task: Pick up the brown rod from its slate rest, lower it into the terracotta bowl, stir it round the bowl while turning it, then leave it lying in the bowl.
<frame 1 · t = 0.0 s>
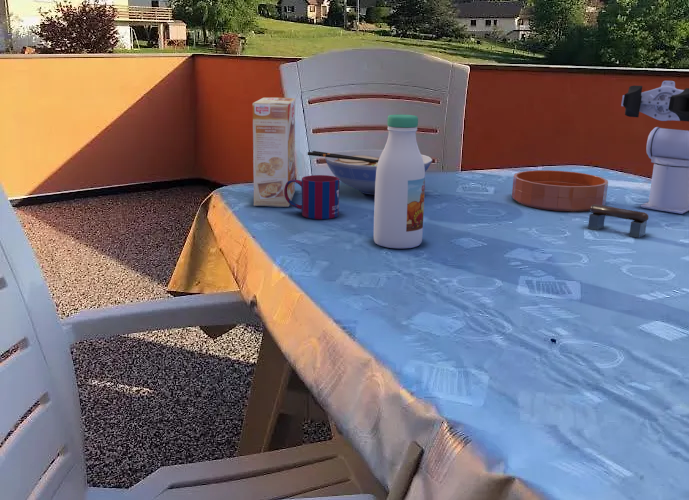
hand: (648, 101, 121), 22 cm above the table, tool horizontal, fingers open, 7 cm apart
stick rest: (616, 231, 122), on the table
milk bottle: (397, 244, 112), on the table
bowl: (557, 202, 144), on the table
coffeecake box: (275, 199, 142), on the table
brown rod: (617, 217, 121), point 2 cm above the table, touching stick rest
ramen bowl: (376, 192, 151), on the table
mug: (311, 215, 130), on the table
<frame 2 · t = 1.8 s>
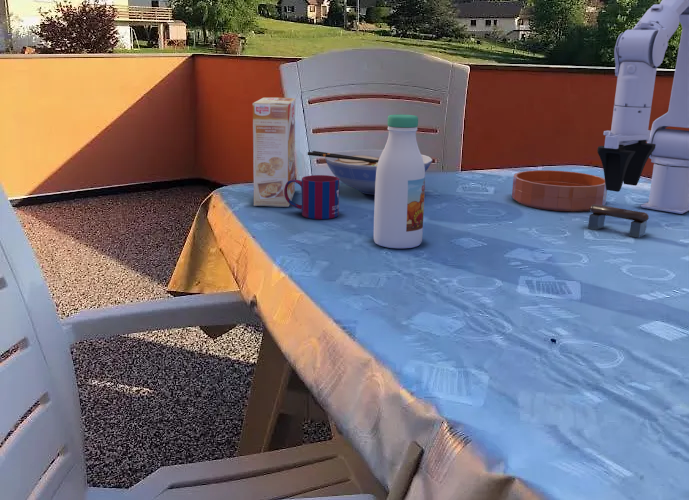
hand: (621, 187, 120), 8 cm above the table, tool pointing down, fingers open, 7 cm apart
nothing on the table moved.
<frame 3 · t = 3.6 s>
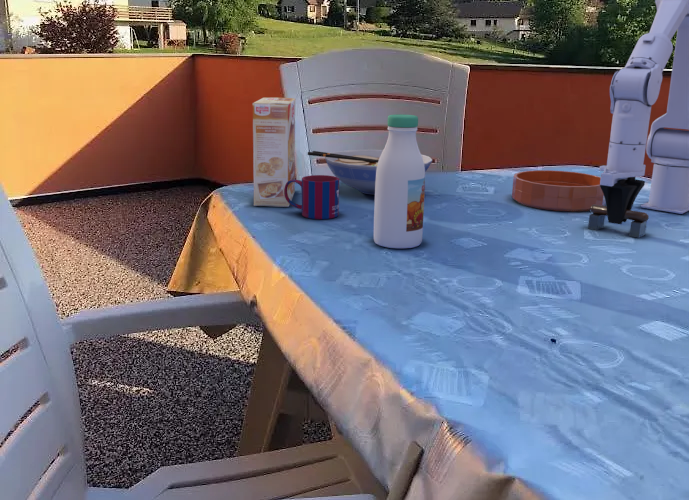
hand: (617, 222, 122), 2 cm above the table, tool pointing down, fingers closed on brown rod, 1 cm apart
brown rod: (617, 217, 121), point 2 cm above the table, touching gripper, stick rest
everything else where it was.
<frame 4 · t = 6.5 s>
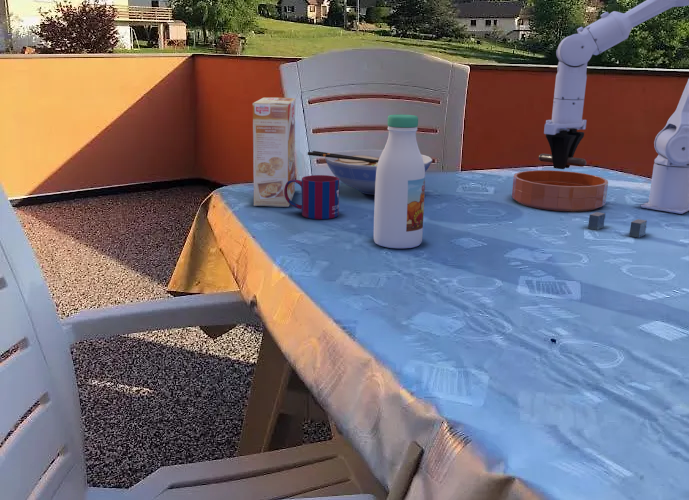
hand: (561, 168, 142), 7 cm above the table, tool pointing down, fingers closed on brown rod
brown rod: (561, 164, 142), point 8 cm above the table, touching gripper
everything else where it was.
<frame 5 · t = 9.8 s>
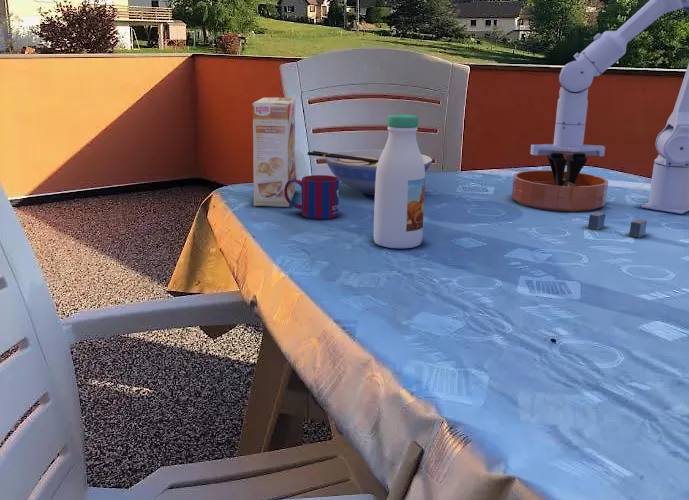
hand: (563, 190, 145), 2 cm above the table, tool pointing down, fingers closed on brown rod, 1 cm apart
brown rod: (563, 187, 144), point 3 cm above the table, touching gripper
everything else where it was.
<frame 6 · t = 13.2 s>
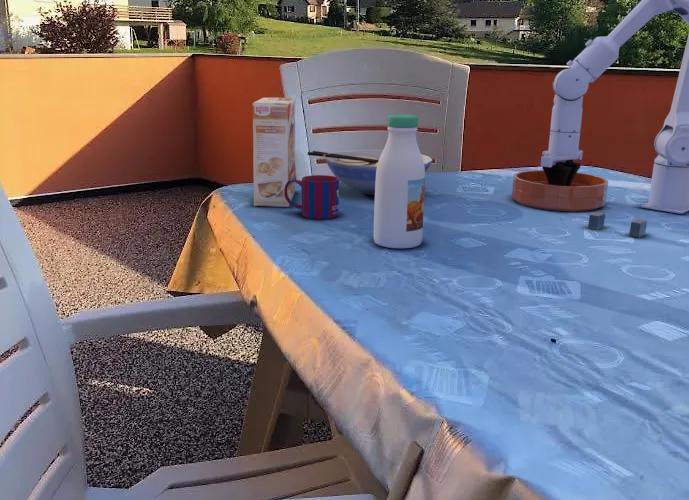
hand: (558, 198, 144), 1 cm above the table, tool pointing down, fingers closed on brown rod, 1 cm apart
brown rod: (558, 194, 144), point 2 cm above the table, touching gripper
everything else where it was.
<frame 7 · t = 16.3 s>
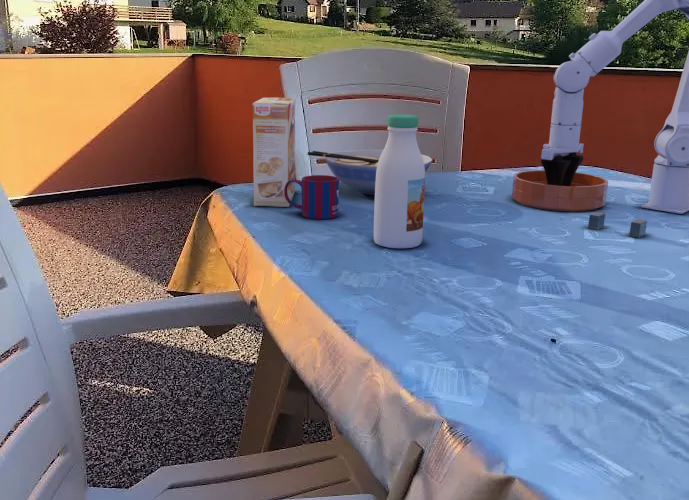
hand: (558, 191, 144), 2 cm above the table, tool pointing down, fingers open, 4 cm apart
brown rod: (557, 199, 144), point 1 cm above the table, tilted 13°, touching bowl
everything else where it was.
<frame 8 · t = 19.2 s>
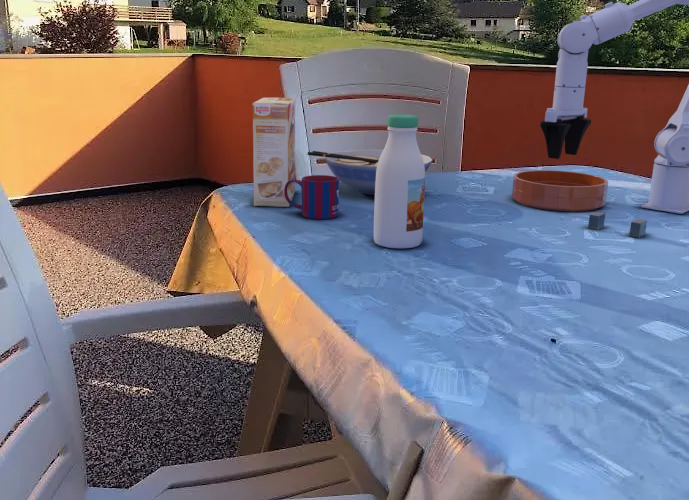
hand: (562, 156, 142), 9 cm above the table, tool pointing down, fingers open, 7 cm apart
brown rod: (559, 194, 144), point 2 cm above the table, tilted 104°, touching bowl
everything else where it was.
at the end: brown rod inside the target area in the bowl (0.6 cm from its centre), point 1.6 cm above the bowl's base; the gripper is holding nothing; brown rod moved 23.9 cm from its start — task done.
